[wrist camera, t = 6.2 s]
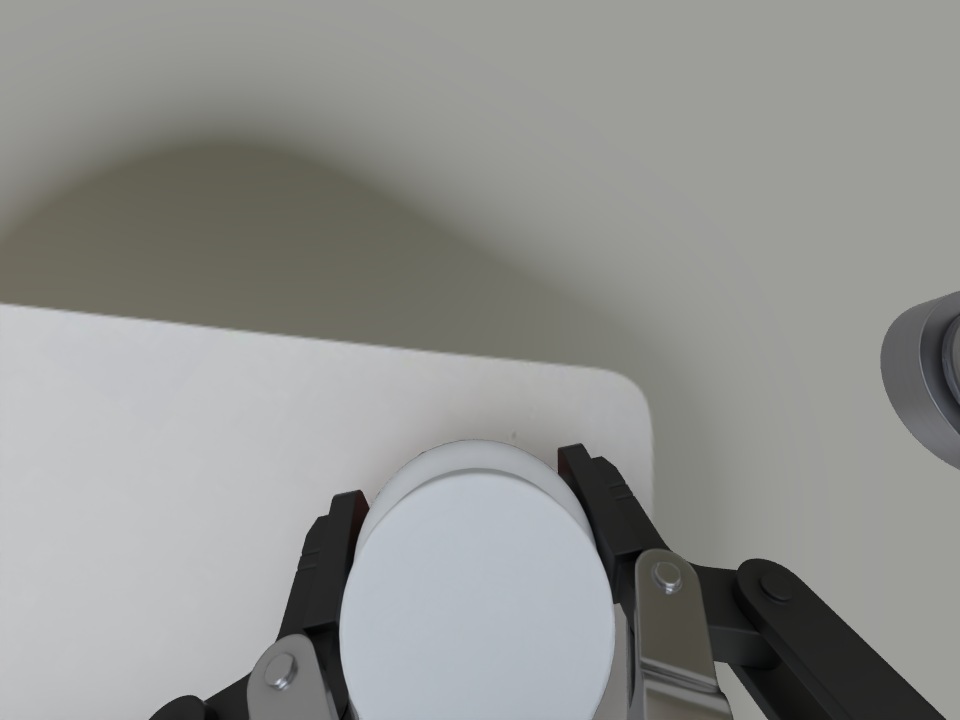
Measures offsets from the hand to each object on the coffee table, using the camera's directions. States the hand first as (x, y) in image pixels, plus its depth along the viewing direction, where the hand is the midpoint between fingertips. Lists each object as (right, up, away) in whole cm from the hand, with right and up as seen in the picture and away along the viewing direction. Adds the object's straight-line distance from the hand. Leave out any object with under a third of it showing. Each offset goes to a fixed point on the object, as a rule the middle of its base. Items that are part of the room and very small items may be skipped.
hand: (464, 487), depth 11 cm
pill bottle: (0, -3, +5) cm, 6 cm away
